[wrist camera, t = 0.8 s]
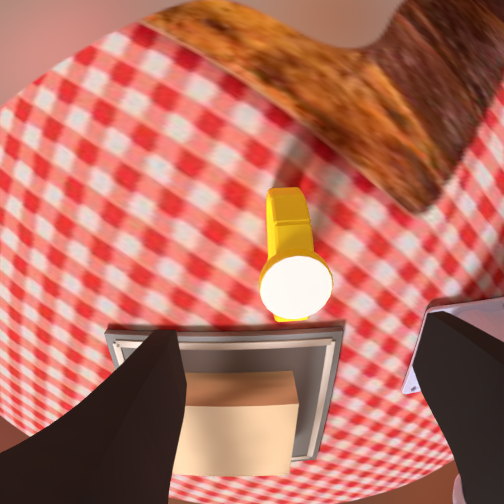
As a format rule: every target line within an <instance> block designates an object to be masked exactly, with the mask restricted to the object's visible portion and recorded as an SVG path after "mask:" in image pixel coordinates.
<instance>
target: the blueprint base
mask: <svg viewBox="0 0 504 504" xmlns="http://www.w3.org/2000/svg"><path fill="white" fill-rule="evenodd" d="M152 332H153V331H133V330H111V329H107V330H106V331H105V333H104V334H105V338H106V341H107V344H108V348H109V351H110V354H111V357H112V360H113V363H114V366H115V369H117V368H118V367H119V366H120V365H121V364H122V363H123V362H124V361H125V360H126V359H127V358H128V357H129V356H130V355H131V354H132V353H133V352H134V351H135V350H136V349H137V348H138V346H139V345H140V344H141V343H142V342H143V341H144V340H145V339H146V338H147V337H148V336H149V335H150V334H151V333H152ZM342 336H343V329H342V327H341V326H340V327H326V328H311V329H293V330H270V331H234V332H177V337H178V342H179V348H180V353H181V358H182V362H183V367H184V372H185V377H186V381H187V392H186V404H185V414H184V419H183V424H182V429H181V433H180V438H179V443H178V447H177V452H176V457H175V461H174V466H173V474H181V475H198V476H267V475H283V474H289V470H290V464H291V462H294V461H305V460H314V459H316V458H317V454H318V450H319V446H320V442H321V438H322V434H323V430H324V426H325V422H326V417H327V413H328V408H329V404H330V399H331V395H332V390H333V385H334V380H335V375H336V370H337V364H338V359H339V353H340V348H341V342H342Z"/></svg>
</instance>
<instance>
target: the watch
mask: <svg viewBox="0 0 504 504" xmlns="http://www.w3.org/2000/svg"><path fill="white" fill-rule="evenodd" d="M266 217H267V242H268V261H267V262H266V264H265V265H264V267H263V269H262V271H261V273H260V278H259V290H260V295H261V299H262V302H263V303H264V304H265V306H266V307H267V309H268V310H269V311H271V312H272V313H273V314H274V318H275V320H276V321H278V322H286V321H298V320H307V319H308V318H309V316H310V315H312V314H314V313H316V312H317V311H318V310H319V309H321V308H322V307H323V306H324V305H325V304H326V302H327V301H328V299H329V297H330V296H331V292H332V288H333V278H332V274H331V272H330V270H329V268H328V266H327V264H326V262H325V260H324V259H323V258H321V257H320V256H319V255H318V254H317V253H315V252H314V246H313V236H312V226H311V224H310V223H311V220H310V215H309V211H308V207H307V203H306V199H305V196H304V195H303V193H302V192H301V190H300V189H299V188H298V187H287V188H270V189H269V190H268V193H267V199H266Z"/></svg>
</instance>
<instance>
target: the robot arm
mask: <svg viewBox="0 0 504 504" xmlns="http://www.w3.org/2000/svg"><path fill="white" fill-rule="evenodd" d="M401 390H402V392H403V394H409V393H414V392H418V391H421V392H422V394H423V396H424V398H425V400H426V401H427V403H428V405H429V407H430V409H431V411H432V413H433V415H434V417H435V419H436V421H437V423H438V424H439V426H440V428H441V430H442V432H443V434H444V436H445V438H446V440H447V442H448V444H449V446H450V449H451V451H452V453H453V456H454V459H455V462H456V465H457V467H458V471H459V474H458V476H457V477H456V479H455V482H454V491H453V503H454V504H504V297H500V298H494V299H487V300H481V301H474V302H467V303H459V304H452V305H444V306H436V307H431V308H429V309H428V310H427V311H426V313H425V317H424V320H423V324H422V327H421V331H420V334H419V338H418V341H417V344H416V347H415V351H414V354H413V357H412V360H411V363H410V366H409V369H408V371H407V374H406V377H405V380H404V383H403V385H402V388H401ZM186 392H187V381H186V377H185V372H184V367H183V362H182V358H181V353H180V348H179V342H178V337H177V332H176V330H154V331H153V332H152V333H151V334H150V335H149V336H148V337H147V338H146V339H145V340H144V341H143V342H142V343H141V344H140V345H139V346H138V348H137V349H136V350H135V351H134V352H133V353H132V354H131V355H130V356H129V357H128V358H127V359H126V360H125V361H124V362H123V363H122V364H121V365H120V366H119V367H118V368H117V369H116V370H115V371H114V372H113V373H112V374H111V375H110V376H109V377H108V378H107V379H106V380H105V381H104V382H102V383H101V384H100V385H99V386H98V387H97V388H96V389H95V390H94V391H93V392H91V393H90V394H89V395H88V396H87V397H86V398H85V399H84V400H82V401H81V402H80V403H79V404H78V405H76V406H75V407H74V408H72V409H71V410H70V411H69V412H67V413H66V414H64V415H63V416H62V417H60V418H59V419H58V420H56V421H55V422H53V423H52V424H51V425H49V426H47V427H46V428H44V429H43V430H41V431H39V432H38V433H36V434H34V435H33V436H31V437H29V438H28V439H26V440H24V441H23V442H21V443H19V444H17V445H16V446H14V447H12V448H10V449H8V450H6V451H3V452H1V453H0V504H168V495H169V487H170V481H171V476H172V471H173V466H174V461H175V457H176V452H177V447H178V443H179V438H180V433H181V429H182V424H183V419H184V414H185V404H186Z"/></svg>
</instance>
